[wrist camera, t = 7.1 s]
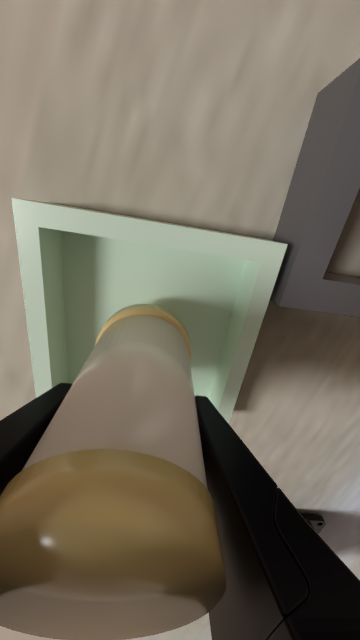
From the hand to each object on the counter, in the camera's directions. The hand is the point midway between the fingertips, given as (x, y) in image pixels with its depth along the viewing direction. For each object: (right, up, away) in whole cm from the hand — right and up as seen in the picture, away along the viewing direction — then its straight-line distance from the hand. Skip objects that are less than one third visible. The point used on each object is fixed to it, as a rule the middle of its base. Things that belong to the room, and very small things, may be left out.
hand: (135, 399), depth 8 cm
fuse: (0, +1, +3) cm, 4 cm away
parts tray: (0, +2, +5) cm, 6 cm away
